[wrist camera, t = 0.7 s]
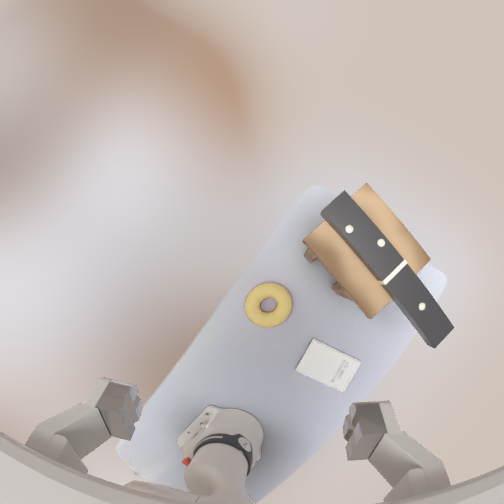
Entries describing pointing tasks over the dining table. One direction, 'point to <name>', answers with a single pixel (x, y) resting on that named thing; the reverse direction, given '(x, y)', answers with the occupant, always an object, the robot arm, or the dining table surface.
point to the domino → (388, 268)
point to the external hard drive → (327, 365)
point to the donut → (262, 293)
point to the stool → (350, 266)
